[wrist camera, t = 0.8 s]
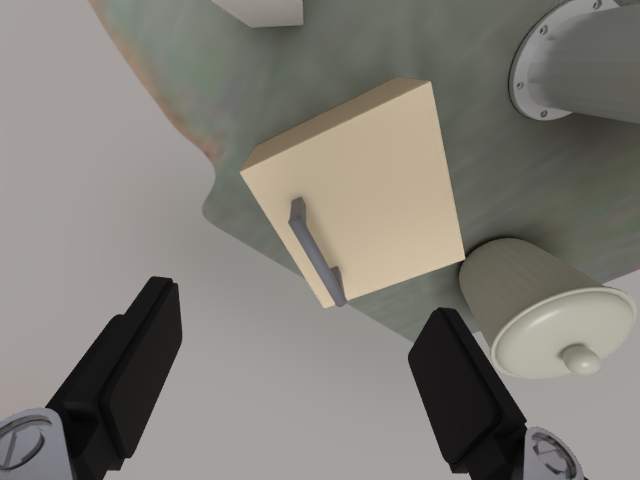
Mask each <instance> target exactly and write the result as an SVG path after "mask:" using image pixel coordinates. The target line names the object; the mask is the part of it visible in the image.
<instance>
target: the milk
mask: <svg viewBox="0 0 640 480" xmlns="http://www.w3.org/2000/svg"><path fill="white" fill-rule="evenodd" d="M211 1H212V2H214V3H215V4H217V5H218V6H220V7H221V8H223V9H224V10H226V11H227V12H229V13H230V14H231V15H233V16H234V17H236V18H237V19H239V20H240V21H242V22H243V23H245V24H246V25H248V26H249V27H251V28H255V27H275V26H295V25H303V24H304V21H303V0H211Z"/></svg>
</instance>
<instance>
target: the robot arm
mask: <svg viewBox="0 0 640 480" xmlns="http://www.w3.org/2000/svg"><path fill="white" fill-rule="evenodd" d="M509 91H510V96H511V100H512V102H513V104H514V106H515V108H516V109H517V110H518V111H519V112H520V113H521V114H523V115H524V116H526V117H529V118H532V119H536V120H542V121H544V120H554V119H558V118H562V117H564V116H566V115H569V114H571V113H573V112H575V113H581V114H586V115H592V116H597V117H603V118H609V119H614V120H620V121H625V122H631V123H636V124H640V3H639V4H634V5H628V6H623V7H620V6H619V5H618V4H617V3H616V2H615V1H614V0H570V1H568V2H566V3H563V4H561V5H559V6H558V7H556V8H555V9H553V10H552V11H551V12H549V13H548V14H547V15H545V16H544V17H543V18H542V19H541V20H540V21H539V22H538V23H537V24H536V25H535V26H534V28H533V29H532V30H531V31H530V32H529V33H528V35H527V36H526V38H525V39H524V41H523V43H522V44H521V46H520V48H519V50H518V52H517V54H516V56H515V58H514V62H513V65H512V68H511V72H510V79H509ZM181 342H182V325H181V314H180V302H179V291H178V284H177V283H173V280H172V279H171V278H164V277H155V276H153V277H151V278H150V279H149V281H148V282H147V283H146V285H145V286H144V288H143V289H142V290H141V292H140V293H139V294H138V296H137V297H136V299H135V300H134V301H133V303H132V304H131V306H130V307H129V308H128V310H127V311H126V313H125V314H124V315H122V314H119V315H116V316H114V317H113V318H112V319H111V320H110V321H109V323H108V324H107V325H106V327H105V328H104V330H103V331H102V332H101V333H100V335H99V336H98V337H97V339H96V340H95V341H94V343H93V344H92V346H91V347H90V348H89V349H88V351H87V352H86V353H85V355H84V356H83V357H82V359H81V360H80V361H79V363H78V364H77V365H76V367H75V368H74V369H73V371H72V372H71V373H70V375H69V376H68V377H67V379H66V380H65V381H64V383H63V384H62V386H61V387H60V388H59V389H58V391H57V392H56V393H55V395H54V396H53V397H52V399H51V400H50V401H49V403H48V404H47V405H46V407H45V408H34V409H27V410H25V411H22V412H19V413H16V414H13V415H12V416H10V417H8V418H6V419H4V420H2V421H1V422H0V480H103V478H104V476H105V474H106V472H107V470H116V471H118V470H120V469H121V466H122V464H123V462H124V460H125V458H131V457H132V455H133V454H134V452H135V450H136V448H137V445H138V443H139V441H140V438H141V436H142V434H143V431H144V429H145V427H146V424H147V422H148V420H149V417H150V415H151V413H152V410H153V408H154V406H155V403H156V401H157V399H158V397H159V394H160V392H161V390H162V387H163V385H164V383H165V380H166V378H167V376H168V373H169V371H170V369H171V366H172V364H173V362H174V359H175V357H176V355H177V352H178V350H179V348H180V345H181ZM408 361H409V365H410V368H411V371H412V373H413V376H414V379H415V382H416V385H417V387H418V390H419V393H420V395H421V398H422V401H423V404H424V407H425V409H426V412H427V415H428V417H429V420H430V423H431V426H432V429H433V431H434V434H435V437H436V440H437V442H438V445H439V448H440V451H441V453H442V456H443V458H444V460H445V461H446V462H447V463H449V466H450V469H451V471H452V473H468V472H469V475H470V477H471V479H472V480H588V479H587V478H585V477H584V475H583V471H582V468H581V466H580V464H579V462H578V460H577V458H576V456H575V455H574V454H573V452H572V451H571V450H570V449H569V447H568V446H566V444H564V442H563V441H561V440H560V439H559V438H558V437H557V436H555V435H554V434H552V433H551V432H549V431H547V430H545V429H543V428H539V427H530V428H529V429H527V427H526V426H525V424H524V423H526V422H527V420H526V418H525V417H524V415H523V414H522V412H521V411H520V409H519V407H518V406H517V404H516V403H515V401H514V400H513V398H512V396H511V395H510V393H509V392H508V390H507V389H506V387H505V385H504V384H503V382H502V381H501V379H500V378H499V376H498V375H497V373H496V371H495V370H494V368H493V367H492V365H491V363H490V362H489V360H488V359H487V358H486V356H485V354H484V352H483V351H482V349H481V348H480V346H479V345H478V343H477V342H476V340H475V338H474V337H473V335H472V334H471V332H470V330H469V329H468V327H467V326H466V324H465V323H464V321H463V319H462V318H461V316H460V315H459V313H458V312H457V311H456V310H455V309H451V308H442V307H439V308H437V310H436V311H433V312H432V314H431V315H430V317H429V319H428V321H427V322H426V324H425V326H424V328H423V329H422V331H421V333H420V335H419V336H418V338H417V340H416V342H415V343H414V345H413V347H412V349H411V350H410V352H409V354H408Z"/></svg>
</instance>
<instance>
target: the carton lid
mask: <svg viewBox="0 0 640 480" xmlns="http://www.w3.org/2000/svg"><path fill="white" fill-rule="evenodd" d="M240 174H241V175H242V177H243V179H244V180H245V182H246V184H247V185H248V187H249V188H250V190H251V192H252V193H253V195H254V196H255V198H256V200H257V201H258V203H259V204H260V206H261V208H262V209H263V211H264V212H265V214H266V216H267V217H268V219H269V220H270V222H271V224H272V225H273V227H274V228H275V230H276V232H277V233H278V235H279V237H280V238H281V240H282V241H283V243H284V245H285V246H286V248H287V249H288V251H289V253H290V254H291V256H292V257H293V259H294V261H295V262H296V264H297V265H298V267H299V269H300V270H301V272H302V273H303V275H304V277H305V278H306V280H307V281H308V283H309V285H310V286H311V288H312V290H313V291H314V293H315V294H316V296H317V297H318V299H319V301H320V302H321V304H322V306H323V307H324V308H327V307H330V306H333V305H337V306H338V307H342V306H344V305H345V304H346V302H347V300H350V299H353V298H356V297H359V296H362V295H365V294H367V293H370V292H373V291H376V290H379V289H382V288H385V287H388V286H390V285H393V284H396V283H399V282H402V281H405V280H408V279H410V278H413V277H416V276H419V275H422V274H425V273H428V272H431V271H433V270H436V269H439V268H442V267H445V266H448V265H451V264H453V263H456V262H459V261H462V260H465V255H464V250H463V244H462V239H461V234H460V229H459V224H458V219H457V214H456V208H455V203H454V198H453V193H452V188H451V183H450V177H449V172H448V167H447V162H446V157H445V152H444V147H443V141H442V136H441V131H440V126H439V121H438V116H437V111H436V105H435V100H434V95H433V90H432V85H431V81H426V82H424V83H422V84H420V85H418V86H416V87H413V88H411V89H409V90H407V91H405V92H403V93H401V94H399V95H397V96H395V97H393V98H390V99H388V100H386V101H384V102H382V103H380V104H378V105H376V106H374V107H372V108H369V109H367V110H365V111H363V112H361V113H359V114H357V115H355V116H353V117H351V118H349V119H346V120H344V121H342V122H340V123H338V124H336V125H334V126H332V127H330V128H328V129H325V130H323V131H321V132H319V133H317V134H315V135H313V136H311V137H309V138H307V139H305V140H302V141H300V142H298V143H296V144H294V145H292V146H290V147H288V148H286V149H284V150H281V151H279V152H277V153H275V154H273V155H271V156H269V157H267V158H265V159H263V160H260V161H258V162H256V163H254V164H252V165H250V166H248V167H246V168H244V169H242V170H241V171H240Z"/></svg>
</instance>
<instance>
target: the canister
mask: <svg viewBox="0 0 640 480" xmlns="http://www.w3.org/2000/svg"><path fill="white" fill-rule="evenodd" d="M459 284H460V288H461V290H462V293H463V295H464V297H465V299H466V302H467V304H468V306H469V308H470V310H471V312H472V314H473V316H474V318H475V320H476V322H477V324H478V326H479V328H480V330H481V332H482V334H483V336H484V338H485V340H486V342H487V344H488V346H489V348H490V357H491V361H492V363H493V365H494V366H495V367H496V368H497V369H498V370H499V371H501V372H502V373H504V374H507V375H509V376H513V377H519V378H530V379H547V378H555V377H560V376H565V375H568V374H572V373H575V374H578V375H590V374H593V373H595V372H596V371H597V370H598V369H599V368H600V365H601V362H600V361H601V360H603V359H604V358H606V357H607V356H608V355H610V354H611V353H612V352H613V351H615V350H616V349H617V348H618V347H619V346H620V345H621V344H622V343H623V342H624V341H625V339H626V338H627V337H628V335H629V333H630V331H631V329H632V327H633V325H634V323H635V321H636V317H637V306H636V303H635V301H634V300H633V298H632V297H631V296H630V295H628V294H627V293H625V292H623V291H621V290H619V289H615V288H612V287H606V286H603V285H602V284H600V283H599V282H597V281H596V280H594V279H592V278H591V277H589V276H587V275H585V274H584V273H582V272H580V271H579V270H577V269H575V268H574V267H572V266H570V265H569V264H567V263H565V262H564V261H562V260H560V259H559V258H557V257H555V256H553V255H552V254H550V253H548V252H546V251H544V250H543V249H541V248H539V247H537V246H535V245H533V244H531V243H529V242H527V241H524V240H519V239H515V238H512V239H511V238H505V239H498V240H493V241H491V242H488V243H486V244H483V245H482V246H480V247H478V248H477V249H476V250H474V251H473V252H472V253H471V254H469V256H468V257H467V258H466V259H465V261H464V262H463V263H462V266H461V268H460V272H459Z"/></svg>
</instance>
